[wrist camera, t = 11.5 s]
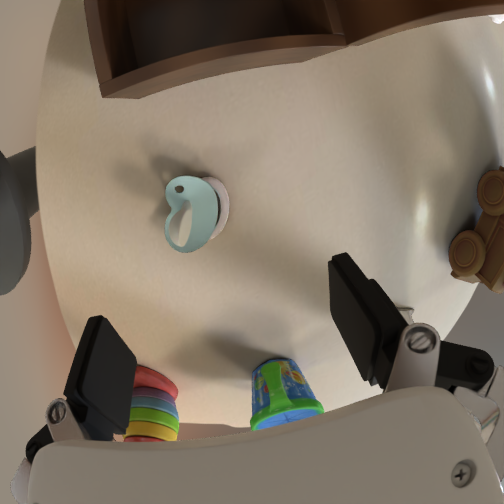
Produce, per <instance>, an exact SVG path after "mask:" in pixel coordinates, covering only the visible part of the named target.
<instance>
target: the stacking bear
mask: <svg viewBox="0 0 504 504" xmlns="http://www.w3.org/2000/svg"><path fill="white" fill-rule="evenodd" d="M177 394H178V390H177V388H176V386H175V385H174V384H173V383H172V382H171V381H170V380H169V379H167V378H166V377H164V376H163V375H161V374H159V373H157V372H155V371H153V370H151V369H148V368H146V367H142V366H136V372H135V379H134V386H133V394H132V402H131V411H130V420H129V427H128V428H126V435H123V439H124V442H162V441H176V439H177V434H178V429H179V417H178V412H177V409H176V405H175V400H176V398H177Z"/></svg>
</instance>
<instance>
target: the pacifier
mask: <svg viewBox="0 0 504 504" xmlns="http://www.w3.org/2000/svg"><path fill="white" fill-rule="evenodd" d="M178 185H181V186H183V187H184V191H183V192H177V191H176V190H175V187H176V186H178ZM213 189H214V190H215V191H216V192H217V194H218V196H219V198H220V203H221V210H220V215H219V218H218V220H217V215H218V203H217V197H216V194H215V192H214V190H213ZM165 194H166V199H167V202H168V204H169V205H170V206H171V208H172V210H171V213H170V214H169V216H168V218H167V220H166V223H165V236H166V239H167V241H168V243H169V244H170V246H171V247H172V248H173V249H175V250H177V251H179V252H185V253H188V252H192V251H195V250H197V249H199V248H200V247H202V246H203V245H204V244H205V243H206V242H207V241H208V240H210V239H212V238H214V237H216V236H217V235H218V234H219V233H220V232H221V231H222V229H223V228H224V226H225V224H226V222H227V219H228V215H229V197H228V193H227V191H226V188H225V187H224V185H223V184H222V183H221V182H220V181H219V180H218V179H216V178H213V177H203V178H198V177H196V176H191V175H182V176H178V177H176V178H174V179H172V180H171V181H170V182H169V184H168V185H167V187H166V192H165ZM216 221H217V222H216Z"/></svg>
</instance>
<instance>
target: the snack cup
mask: <svg viewBox="0 0 504 504" xmlns="http://www.w3.org/2000/svg"><path fill="white" fill-rule="evenodd" d="M322 413H324V409H323V406H322V404H321V403H320V402H319V401H317V400H316V398H315V396H314V394H313V392H312V390H311V388H310V386H309V384H308V383H307V381H306V379H305V377H304V375H303V374H302V372H301V370H300V369H299V367H298V366H297V364H296V363H295V362H294V361H293V360H291V359H290V360H284V359H276V360H269V361H267V362H266V363H264V364H262V365H260V366H259V367H258V368H257V369H256V370H255V371H253V373H252V418H251V420H250V425H251V430H252V431H254V430H259V429H264V428H269V427H273V426H278V425H282V424H286V423H290V422H294V421H298V420H301V419H305V418H308V417H312V416H315V415H319V414H322Z"/></svg>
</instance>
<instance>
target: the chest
mask: <svg viewBox="0 0 504 504" xmlns="http://www.w3.org/2000/svg"><path fill="white" fill-rule="evenodd" d="M84 6H85V13H86V20H87V27H88V33H89V39H90V44H91V49H92V55H93V59H94V64H95V69H96V73H97V78H98V82H99V84H100V85H99V87H100V91H101V95H102V98H129V99H140V98H142V97H145V96H148V95H151V94H154V93H157V92H160V91H163V90H166V89H169V88H172V87H175V86H179V85H182V84H185V83H189V82H193V81H196V80H200V79H204V78H208V77H212V76H216V75H221V74H225V73H230V72H235V71H240V70H246V69H252V68H258V67H264V66H272V65H279V64H288V63H299V62H304V61H307V60H310V59H312V58H315V57H318V56H321V55H324V54H327V53H330V52H333V51H336V50H340V49H343V48H346V47H349V46H347V45H346V40H345V36H344V32H343V28H342V24H341V20H340V16H339V13H338V9H337V6H336V2H335V0H84Z"/></svg>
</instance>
